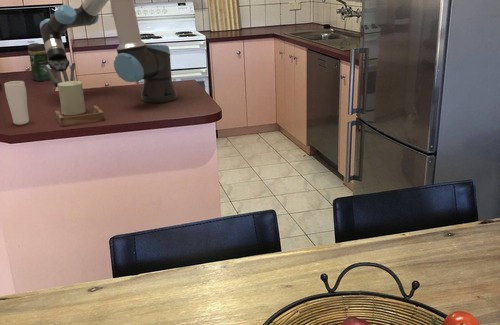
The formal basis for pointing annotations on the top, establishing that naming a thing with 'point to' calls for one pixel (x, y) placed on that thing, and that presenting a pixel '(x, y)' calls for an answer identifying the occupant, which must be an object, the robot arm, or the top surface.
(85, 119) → the corral
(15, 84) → the drinking glass
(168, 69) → the robot arm
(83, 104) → the can
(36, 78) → the coffee jar
